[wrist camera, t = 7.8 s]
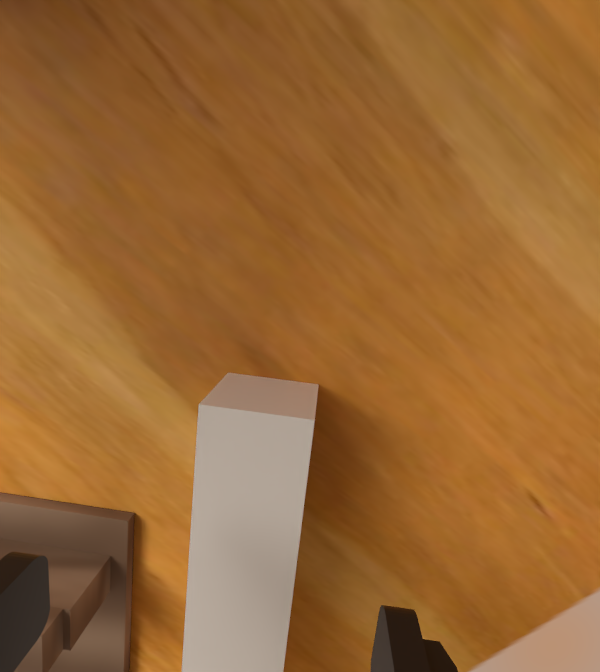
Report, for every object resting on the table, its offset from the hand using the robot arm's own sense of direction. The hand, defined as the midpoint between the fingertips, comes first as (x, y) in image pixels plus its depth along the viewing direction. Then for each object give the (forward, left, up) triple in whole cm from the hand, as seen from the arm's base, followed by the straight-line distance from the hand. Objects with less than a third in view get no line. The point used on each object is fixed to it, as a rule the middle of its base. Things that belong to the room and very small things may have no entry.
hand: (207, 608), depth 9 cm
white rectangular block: (+5, 0, -9) cm, 10 cm away
